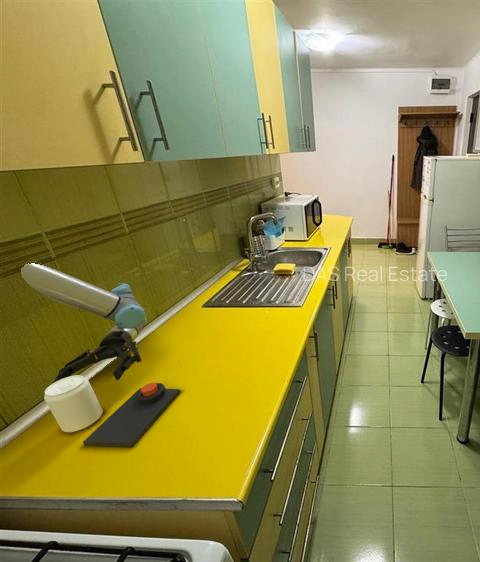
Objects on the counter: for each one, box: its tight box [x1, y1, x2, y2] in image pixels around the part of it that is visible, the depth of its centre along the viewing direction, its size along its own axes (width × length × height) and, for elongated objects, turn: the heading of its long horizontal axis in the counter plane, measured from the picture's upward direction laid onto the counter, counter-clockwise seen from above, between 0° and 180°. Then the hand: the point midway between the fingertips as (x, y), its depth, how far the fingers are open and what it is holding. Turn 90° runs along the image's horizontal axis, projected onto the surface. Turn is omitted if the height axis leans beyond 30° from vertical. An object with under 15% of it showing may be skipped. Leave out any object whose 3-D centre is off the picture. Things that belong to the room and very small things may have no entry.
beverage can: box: [43, 374, 104, 433], centre depth 77 cm, size 8×8×12 cm
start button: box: [140, 382, 158, 397], centre depth 85 cm, size 4×4×2 cm
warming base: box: [82, 382, 181, 448], centre depth 80 cm, size 18×12×3 cm, turn 178°
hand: (86, 382), depth 82 cm, fingers open, 13 cm apart
